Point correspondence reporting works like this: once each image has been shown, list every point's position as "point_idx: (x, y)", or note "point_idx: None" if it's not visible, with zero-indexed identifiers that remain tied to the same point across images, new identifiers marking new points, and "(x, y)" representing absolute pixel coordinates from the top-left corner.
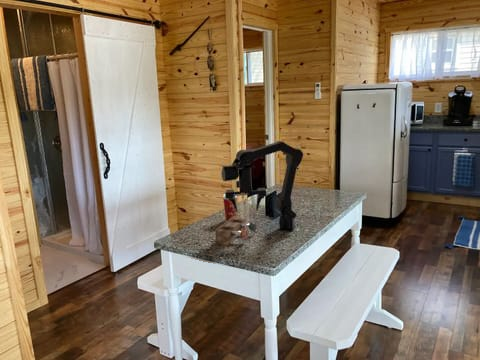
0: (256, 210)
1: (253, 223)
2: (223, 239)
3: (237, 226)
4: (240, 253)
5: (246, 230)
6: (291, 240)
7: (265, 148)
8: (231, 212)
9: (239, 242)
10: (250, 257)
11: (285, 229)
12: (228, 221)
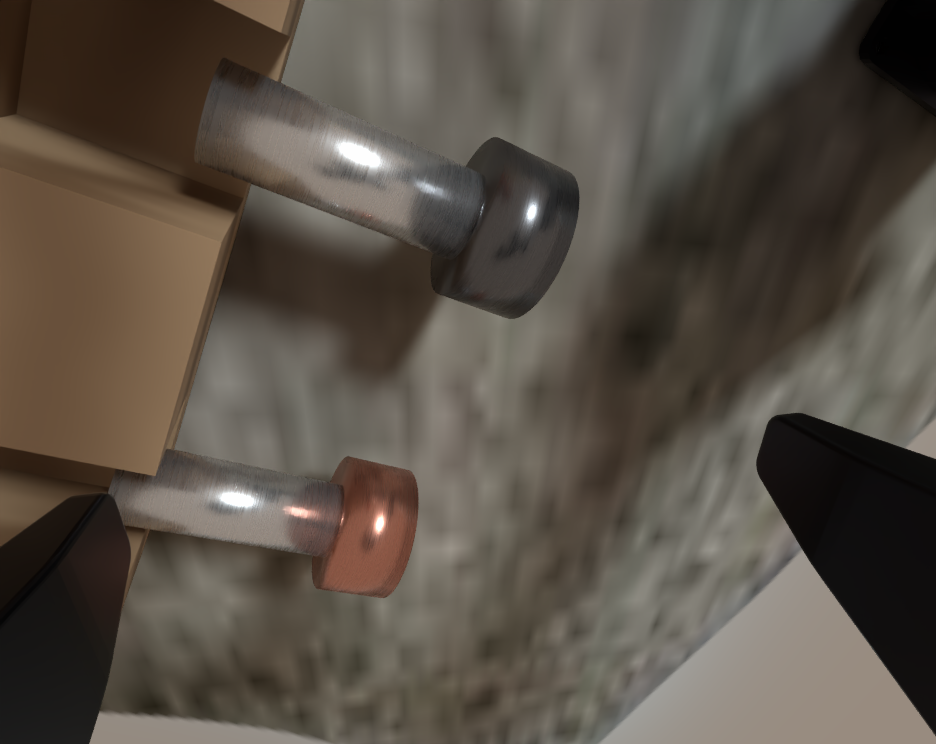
0: (761, 476)
1: (529, 290)
2: None
3: (200, 324)
4: (329, 661)
5: (399, 578)
6: (834, 398)
7: None
8: None
9: (283, 446)
10: (420, 703)
11: (931, 91)
12: None
